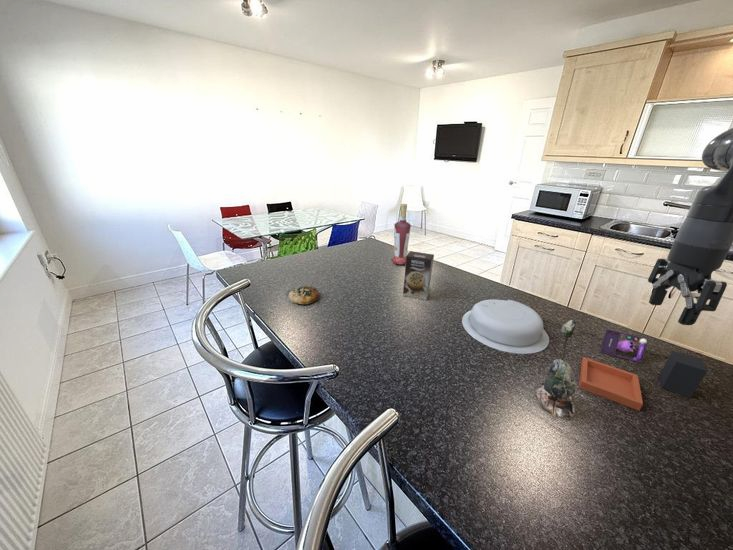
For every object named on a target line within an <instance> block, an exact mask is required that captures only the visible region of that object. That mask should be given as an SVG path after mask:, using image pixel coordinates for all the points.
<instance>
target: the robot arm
mask: <svg viewBox="0 0 733 550" xmlns="http://www.w3.org/2000/svg"><path fill="white" fill-rule="evenodd" d="M701 161H702V163H703V165H705V166H706V167H707V168H708V169H711V170H713V171H719V172H726V173H725V174H724V176H723V177H722V178H721V179H720V181H719V182H717V183H716V184H713V185H712V184H711V185H707V186H704V187H701V188H700V189H699V190H698V191H697V192H696V194H695V196H694V197H693V200H692V203H691V205H690V207H689V210H688V212H687V214H686V217H685V219H684V220H683V222H682V223H681V224H680V227H679V229H678V230H677V233H676V236H675V238H674V241H673V243H672V245H671V248H670V250H669V252H668V254H667V258H658V259H656V261H655V263H654V266H653V268H652V270H651V272H650V275H649V276H648V279H647V282H648V283H651V284H652V288H653V290H652V292H651V293H650V297H649V301H648V304H650V305H651V306H662V304H663V303H664V300H665V298H666V296H667V294H668V289H670V288H671V287H673V288H676V290H678V291H680V294H681V297H682V298H684V299H685V300H684V301H685V306H684V308H683V310H682V312H681V314H680V316H679V318H678V320H677V323H678V324H680V325H683V326H693V325H694V324H696V322H697V320H698V318H699V316H700V314H701V313H702V312H703V311H704V312H715V311H717V309H718V307H719V304H720V302H721V300H722V298H723V296H724V293H725V292H726V289H727V286H728V283H727V282H726V281H722V280H721V281H720V280H716V279H715V280H714V279H712V274H713V272H715V271H716V270H719V269H720V268H721V267H722V265H723V263H724V261H725V260H726V258H727V255H728V254H729V251H730V250H731V248H732V245H733V127H731V128H729V129H727V130H725V131H723V132H722V133H720V134H718V135H717V136H716V137H714V138H713V139H711V140H710V141H709V142H708V143H707V145H706V146H705V147H704V149H703V151H702V154H701ZM658 275H659V276H658ZM657 276H658V277H657ZM696 291H697V292H696ZM695 299H696V302H695V301H694V300H695ZM707 302H708V303H707Z"/></svg>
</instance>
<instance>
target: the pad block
mask: <svg viewBox="0 0 733 550" xmlns="http://www.w3.org/2000/svg"><path fill="white" fill-rule="evenodd" d="M707 373H708V369H707V367H706V365H705V362H704V361H703V359H702V358H700V357H696V356H693V355H690V354H687V353H682V352H679V351H675V350H672V351H671V352H670V354H669V355H668V358H667V359H666V362H665V363H664V365H663V366H662V369H661V371H660V373H659V374H658V376H657V377H658V381H659V384H660V388H661V389H663V390H666V391H668V392H672V393H674V394H677V395H681V396H684V397H686V398H690V399H691V398H692V397H693V395H694V394H695V392H696V391H697V388H698V387H699V386H700V384H701V383H702V381H703V379H704V378H705V376H706V375H707Z"/></svg>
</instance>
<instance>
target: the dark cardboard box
mask: <svg viewBox="0 0 733 550" xmlns="http://www.w3.org/2000/svg"><path fill="white" fill-rule="evenodd" d="M434 257H435V254H433V253H426V252H419V251H412V250H410V251H409V252H407V256H406V263H405V268H404V278H403V290H402V296H403V297H406V298H412V299H417V300H423V301H427V299H428V297H429V295H430V288H431V287H430V286H431V280H432V274H433V272H432V271H433V264H434V259H435V258H434Z"/></svg>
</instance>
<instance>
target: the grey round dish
mask: <svg viewBox="0 0 733 550" xmlns="http://www.w3.org/2000/svg"><path fill="white" fill-rule="evenodd" d="M461 325H462V327H463V329H464V330H465V332H467V334H468V335H469V336H471V337H472V338H473V339H475V340H476V341H477V342H479V343H481V344H483V345H485V346H487V347H489V348H492V349H494V350H498V351H501V352H505V353H509V354H518V355H531V354H536V353H539V352H542V351H543V350H546V349H547V347H548V345H549V343H550V337H549V334H548V333H547V331H546V330H545V329H544V321H543V319H542V317H541V316H540V315H539V313H538V312H536V311H535V310H534V309H533V308H531V307H530V306H528V305H526V304H523V303H521V302H519V301H516V300H512V299H506V300H505V299H485V300H481V301H478V302H477V303H475V304H474V305H473V306H472V308H471V309H469V310H468V311H467V312H465V313H464V314H463V316H462V318H461Z"/></svg>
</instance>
